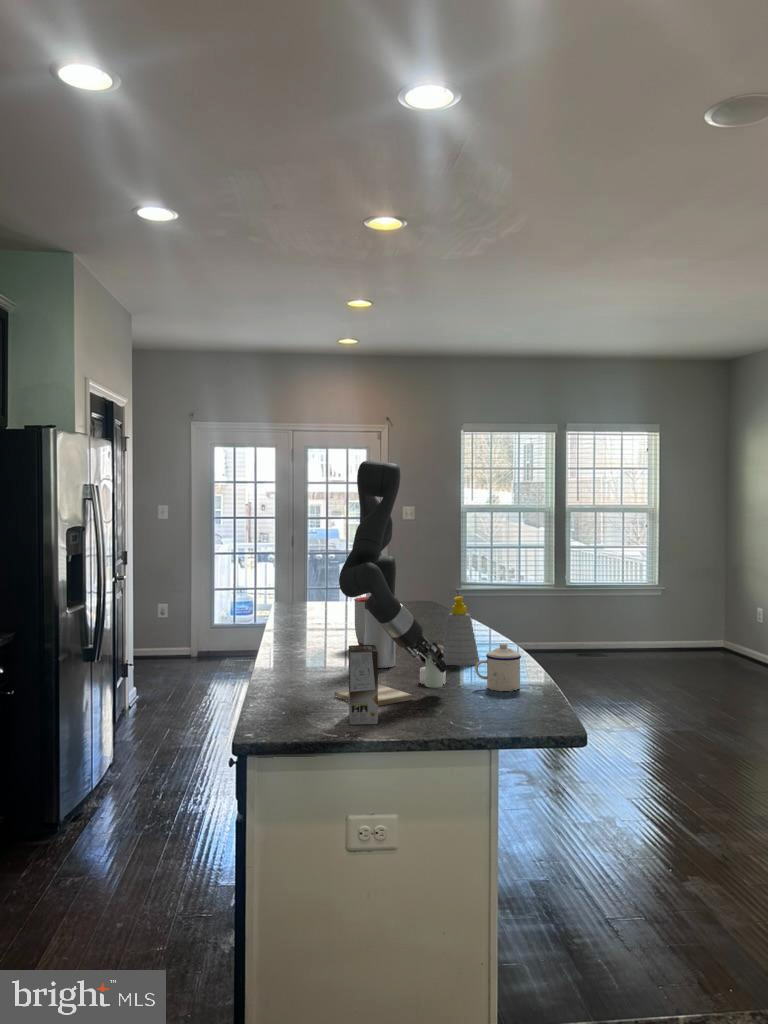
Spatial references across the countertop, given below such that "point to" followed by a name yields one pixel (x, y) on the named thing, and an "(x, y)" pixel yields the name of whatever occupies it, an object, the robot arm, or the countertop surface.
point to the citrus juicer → (360, 619)
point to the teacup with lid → (502, 669)
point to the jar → (433, 673)
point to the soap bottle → (459, 637)
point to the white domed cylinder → (422, 676)
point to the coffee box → (363, 684)
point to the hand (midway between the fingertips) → (438, 667)
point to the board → (382, 695)
